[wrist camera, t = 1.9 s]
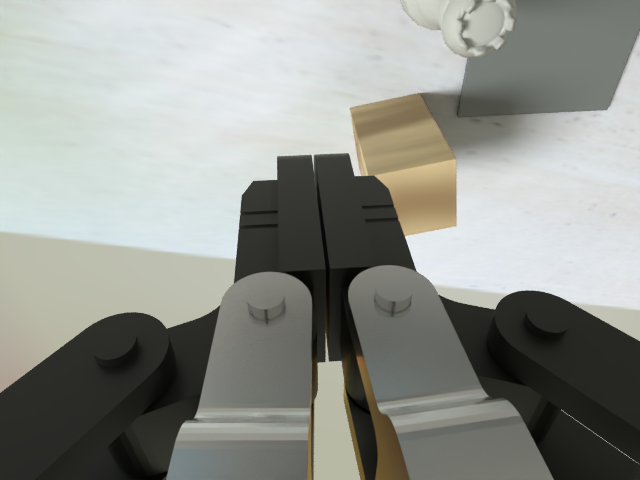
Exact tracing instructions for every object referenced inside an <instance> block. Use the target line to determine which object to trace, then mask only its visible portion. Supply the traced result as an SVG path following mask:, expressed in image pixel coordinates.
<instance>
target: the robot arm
mask: <svg viewBox="0 0 640 480" xmlns="http://www.w3.org/2000/svg"><path fill="white" fill-rule="evenodd" d="M277 179H278V180H266V181H253V182H252V183H251V185H250V186H249V187H248V189H247V190H246V191H245V192H244V194H243V195H242V200H241V211H240V213H241V215H240V223H239V234H238V245H237V256H236V267H235V279H234V284H233V285H232V286H231V287H230V288H229V289H228V290H227V292H226V293H225V295H224V296H223V299H222V302H221V305H220V306H219V307H218V308H217V309H215V310H213V311H212V312H211V313H209V314H207V315H205V316H203V317H201V318H198V319H195V320H193V321H190V322H187V323H183V324H180V325H177V326H174V327H171V328H168V329H166V328H165V326H164V325H163V324H162V322H160V321H159V320H158V319H156V318H154V317H153V316H150V315H147V314H144V313H136V312H135V313H122V314H117V315H113V316H110V317H107V318H104V319H102V320H100V321H98V322H96V323H94V324H92V325H91V326H89V327H88V328H86V329H85V330H84V331H83V332H81V333H80V334H79V335H77V336H76V337H74V338H73V339H72V340H71V341H69V342H68V343H66V344H65V345H64V346H62V347H61V348H60V349H59V350H57V351H56V352H54V353H53V354H52V355H50V356H49V357H48V358H46V359H45V360H44V361H42V362H41V363H40V364H38V365H37V366H36V367H34V368H33V369H32V370H30V371H29V372H28V373H26V374H25V375H24V376H22V377H21V378H20V379H18V380H17V381H16V382H14V383H13V384H12V385H10V386H9V387H8V388H6V389H5V390H4V391H2V392H1V393H0V480H314V400H315V398H316V395H317V391H318V367H317V363H318V362H325V333H326V338H327V347H328V356H329V361H342V367H343V374H344V396H343V397H344V404H345V409H346V413H347V418H348V422H349V428H350V432H351V437H352V442H353V446H354V451H355V455H356V461H357V465H358V470H359V475H360V479H361V480H640V341H638V340H636V339H635V338H633V337H631V336H629V335H627V334H626V333H624V332H622V331H620V330H618V329H617V328H615V327H613V326H611V325H609V324H608V323H606V322H604V321H602V320H600V319H599V318H597V317H595V316H593V315H591V314H590V313H588V312H586V311H584V310H582V309H581V308H579V307H577V306H575V305H573V304H572V303H570V302H568V301H566V300H564V299H562V298H560V297H558V296H555V295H552V294H549V293H545V292H540V291H518V292H515V293H511V294H509V295H507V296H506V297H504V298H503V299H502V300H501V301H500V302H499V303H498V305H497V307H496V309H495V310H494V309H488V308H483V307H478V306H472V305H467V304H463V303H458V302H454V301H452V300H449V299H446V298H444V297H442V296H440V295H438V293H437V291H436V289H435V288H434V286H433V285H432V283H431V282H430V281H429V280H428V279H427V278H425V277H424V276H423V275H421V274H419V273H418V272H417V271H416V269H415V266H414V263H413V260H412V257H411V254H410V251H409V248H408V245H407V242H406V239H405V236H404V233H403V230H402V227H401V224H400V221H398V215H397V212H396V209H395V208H394V203H393V200H392V197H391V194H390V191H389V189H388V188H387V187H386V186H385V185H384V184H383V183H382V182H381V181H380V180H379V179H377V178H376V177H375V176H354V172H353V168H352V164H351V160H350V156H349V154H348V153H343V154H320V155H314V171H313V162H312V155H299V156H277ZM561 410H563V411H564V412H566V413H567V414H568V415H567V414H566V413H564V412H563V411H561ZM569 415H570V416H572V417H573V418H574V419H576V420H577V421H579V422H580V423H582V424H583V425H584V426H586V427H587V428H589V429H590V430H591V431H590V430H588V429H587V428H586V427H584V426H583V425H581V424H580V423H579V422H577V421H576V420H574V419H573V418H572V417H570V416H569ZM592 431H593V432H594V433H596V434H597V435H599V436H600V437H602V438H603V439H604V440H603V439H602V438H600V437H599V436H597V435H596V434H594V433H593V432H592ZM605 440H606V441H607V442H609V443H610V444H612V445H613V446H614V447H613V446H612V445H610V444H609V443H607V442H606V441H605ZM615 447H616V448H617V449H619V450H620V451H622V452H623V453H625V454H626V455H627V456H629V457H630V458H632V459H633V460H635V461H636V462H638V463H639V464H638V463H636V462H635V461H633V460H632V459H630V458H629V457H627V456H626V455H624V454H623V453H621V452H620V451H619V450H617V449H616V448H615Z"/></svg>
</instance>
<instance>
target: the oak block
mask: <svg viewBox="0 0 640 480" xmlns="http://www.w3.org/2000/svg"><path fill="white" fill-rule="evenodd" d="M350 113H351V119H352V126H353V132H354V138H355V144H356V150H357V157H358V163H359V168H360V172H361V176H375V177H376V178H377V179H379V180H380V181H381V182H382V183H383V184H384V185H385V186H386V187H387V188H388V189H389V191H390V194H391V197H392V200H393V203H394V208H395V209H396V212H397V215H398V221H400V224H401V227H402V230H403V233H404V236H407V235H413V234H418V233H423V232H428V231H433V230H439V229H444V228H449V227H454V226H456V158H455V156H454V154H453V152H452V150H451V149H450V147H449V145H448V143H447V141H446V140H445V138H444V136H443V134H442V132H441V131H440V129H439V127H438V125H437V123H436V122H435V120H434V118H433V116H432V114H431V113H430V111H429V109H428V107H427V105H426V104H425V102H424V100H423V98H422V96H421V95H420V93H418V94H413V95H408V96H404V97H399V98H394V99H389V100H385V101H380V102H375V103H371V104H366V105H361V106H356V107H352V108H350Z"/></svg>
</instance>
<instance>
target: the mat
mask: <svg viewBox="0 0 640 480" xmlns="http://www.w3.org/2000/svg"><path fill="white" fill-rule="evenodd" d="M515 2H516V8H517V12H516V16H515V18H516V19H517V20H516V24H515V29H514V31H510V32H509V34H508V36H507V37H506V39H505V41H506V42H507V43H506V44H505V45H504V46H503V47H502V48H501V49H499V50H498V51H497V50H496V49H494V50H493V51H491V52H489V53H486V56H481V57H468V59H467V64H466V69H465V75H464V80H463V86H462V91H461V96H460V102H459V107H458V113H457V116H458V117H471V116H492V115H513V114H533V113H554V112H575V111H596V110H607V109H608V106H609V104H610V101H611V99H612V96H613V94H614V91H615V89H616V86H617V84H618V81H619V79H620V76H621V74H622V71H623V69H624V66H625V64H626V61H627V59H628V56H629V54H630V51H631V49H632V46H633V44H634V41H635V39H636V36H637V34H638V31H639V29H640V0H515Z"/></svg>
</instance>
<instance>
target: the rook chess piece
mask: <svg viewBox="0 0 640 480" xmlns="http://www.w3.org/2000/svg"><path fill="white" fill-rule="evenodd" d="M400 1H401V4H402V7H403V10H404V11H405V12H406V13H407V14H408V16H409V17H410V18H411V19H412V20H413V21H415V22H416V23H417V24H418V25H420V26H423V27H425V28H428V29H430V30H442V34H443V38H444V41H445V44H446V45H447V46H448V47H449V48H450V49H451V51H452V52H453V53H455V54H458V55H460V56H463V57H465V58H466V57H481V56H486V53H489V52H491V51H493V50H494V49H496V50H497V51H498V50H499V49H501V48H502V47H503V46H504V45H505V44H506V43H507V42H506V41H505V39H506V37H507V36H508V34H509V32H510V31H514V29H515V24H516V20H517V19H516V18H515V16H516V12H517V8H516V2H515V0H400Z"/></svg>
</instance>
